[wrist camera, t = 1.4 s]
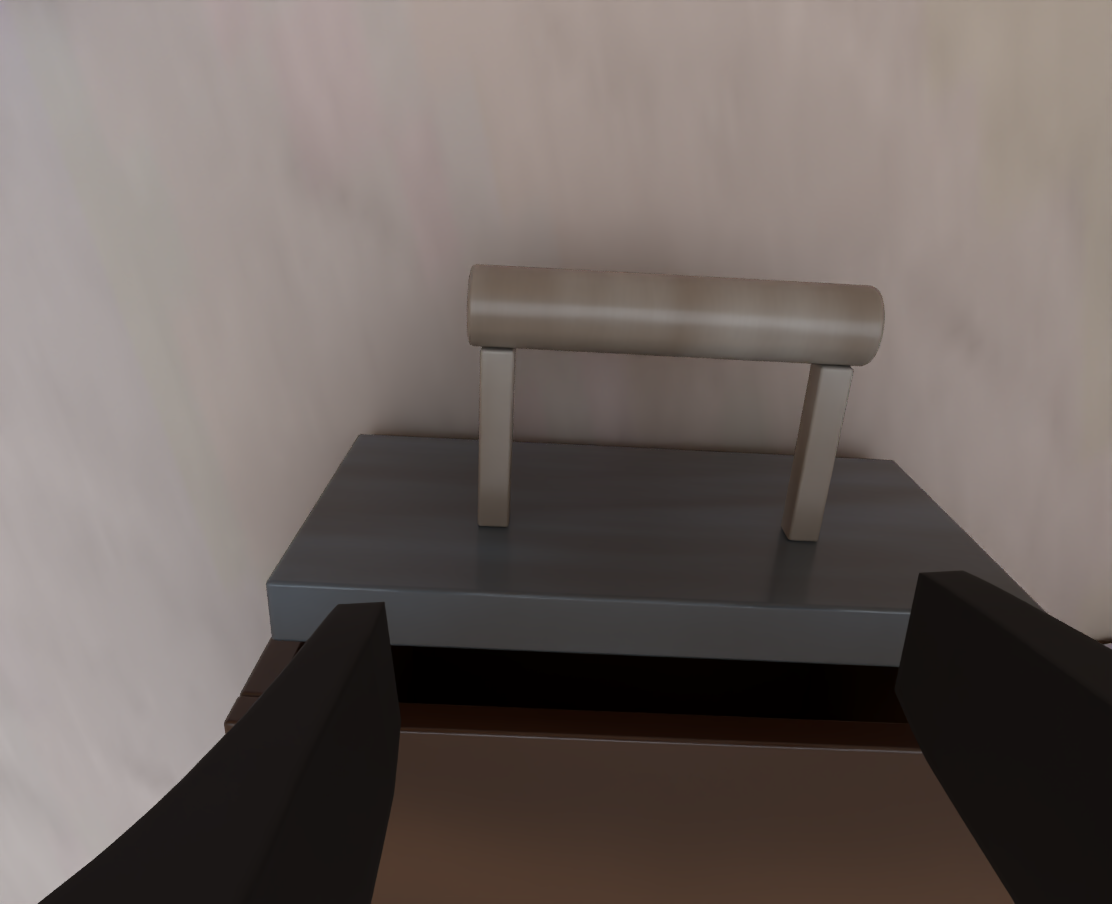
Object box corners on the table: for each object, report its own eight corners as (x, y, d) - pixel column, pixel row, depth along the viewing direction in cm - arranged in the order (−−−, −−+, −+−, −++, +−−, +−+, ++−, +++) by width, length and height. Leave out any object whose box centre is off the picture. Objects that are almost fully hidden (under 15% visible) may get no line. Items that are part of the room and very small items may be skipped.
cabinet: (347, 496, 21) (221, 722, 13) (884, 522, 21) (1079, 757, 13) (367, 859, 26) (287, 1175, 18) (798, 875, 26) (900, 1191, 18)
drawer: (348, 224, 17) (231, 282, 11) (942, 257, 17) (1157, 332, 11) (377, 809, 24) (314, 1049, 18) (804, 825, 24) (890, 1068, 18)
